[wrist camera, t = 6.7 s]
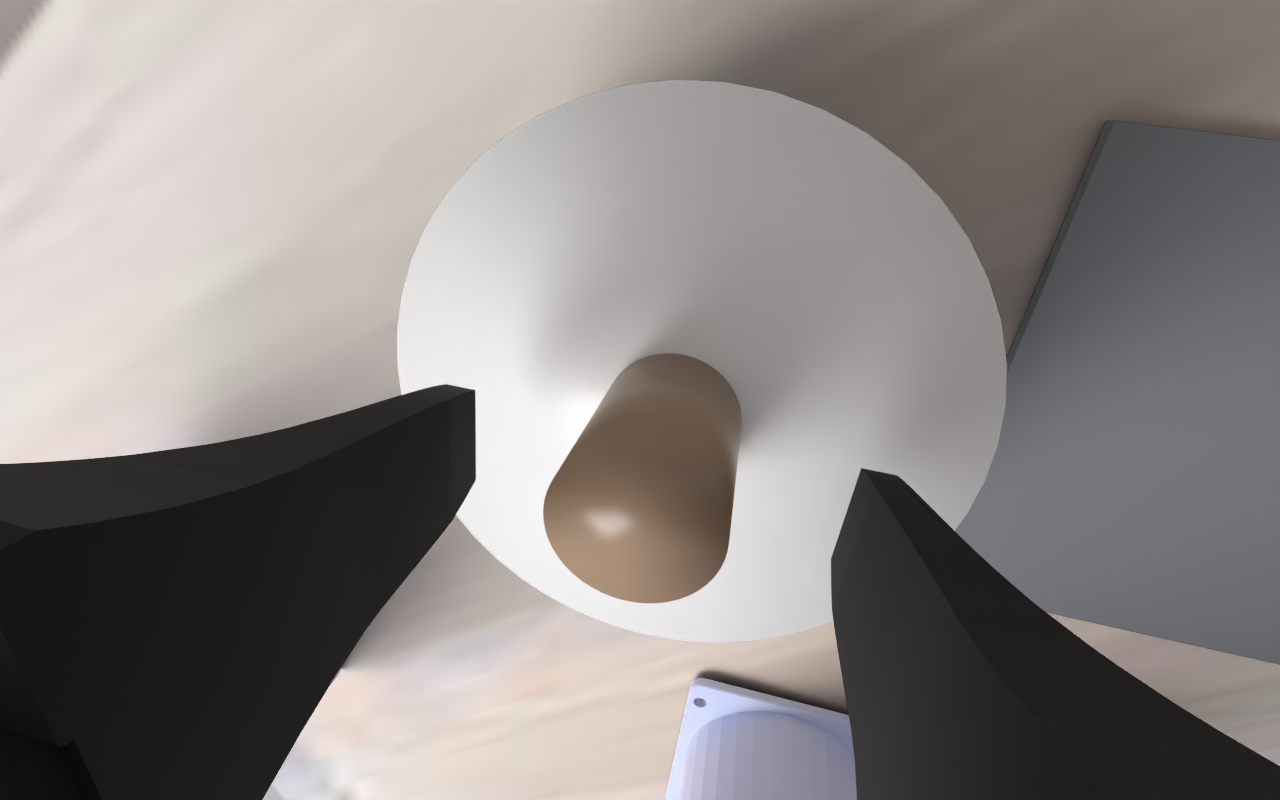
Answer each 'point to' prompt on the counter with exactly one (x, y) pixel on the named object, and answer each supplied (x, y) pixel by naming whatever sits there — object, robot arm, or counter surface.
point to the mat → (1150, 400)
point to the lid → (700, 351)
